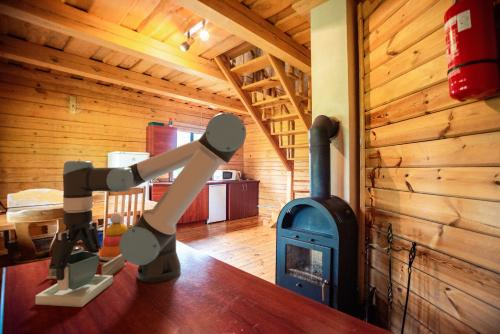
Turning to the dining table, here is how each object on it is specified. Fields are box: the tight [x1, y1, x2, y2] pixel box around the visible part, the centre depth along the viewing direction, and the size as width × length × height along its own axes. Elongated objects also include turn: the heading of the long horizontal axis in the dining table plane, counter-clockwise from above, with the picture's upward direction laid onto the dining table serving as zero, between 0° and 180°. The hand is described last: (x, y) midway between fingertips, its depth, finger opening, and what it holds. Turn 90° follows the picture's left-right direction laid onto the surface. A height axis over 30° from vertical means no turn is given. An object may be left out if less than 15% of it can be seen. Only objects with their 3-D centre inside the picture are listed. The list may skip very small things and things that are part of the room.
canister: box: [71, 245, 85, 254], centre depth 92 cm, size 6×6×9 cm
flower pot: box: [66, 250, 100, 290], centre depth 77 cm, size 9×9×9 cm
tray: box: [35, 274, 114, 308], centre depth 77 cm, size 14×14×2 cm
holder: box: [46, 252, 127, 280], centre depth 92 cm, size 20×14×5 cm
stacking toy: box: [98, 211, 129, 262], centre depth 106 cm, size 14×14×20 cm
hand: (77, 280), depth 77 cm, fingers open, 10 cm apart
